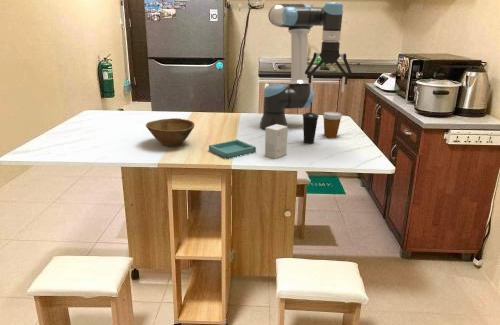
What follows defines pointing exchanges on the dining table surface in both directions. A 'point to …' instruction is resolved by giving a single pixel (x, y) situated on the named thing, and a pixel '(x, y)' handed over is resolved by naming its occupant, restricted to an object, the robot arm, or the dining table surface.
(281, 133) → the small box
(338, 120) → the disposable coffee cup
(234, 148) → the tray
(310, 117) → the drinking cup
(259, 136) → the dining table surface
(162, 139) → the bowl
